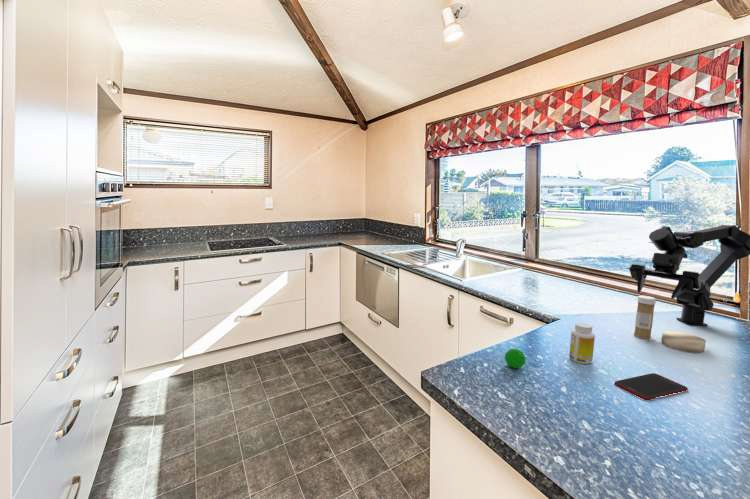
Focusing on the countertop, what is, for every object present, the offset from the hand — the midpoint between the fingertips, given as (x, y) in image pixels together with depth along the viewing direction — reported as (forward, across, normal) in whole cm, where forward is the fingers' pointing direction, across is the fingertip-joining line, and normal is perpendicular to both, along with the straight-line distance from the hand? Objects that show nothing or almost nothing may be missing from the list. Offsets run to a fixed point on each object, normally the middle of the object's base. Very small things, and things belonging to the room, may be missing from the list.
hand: (654, 294), depth 116 cm
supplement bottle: (+39, -3, -20) cm, 44 cm away
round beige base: (+13, +10, +5) cm, 17 cm away
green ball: (+53, -10, -34) cm, 64 cm away
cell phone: (+40, +14, -21) cm, 47 cm away
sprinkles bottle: (+14, 0, +4) cm, 15 cm away
